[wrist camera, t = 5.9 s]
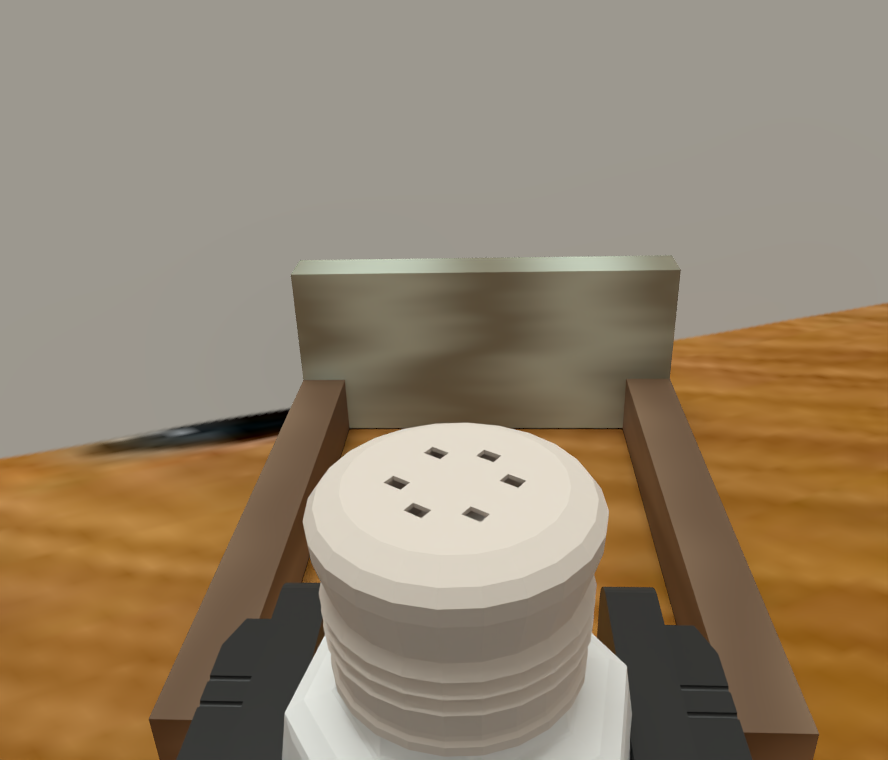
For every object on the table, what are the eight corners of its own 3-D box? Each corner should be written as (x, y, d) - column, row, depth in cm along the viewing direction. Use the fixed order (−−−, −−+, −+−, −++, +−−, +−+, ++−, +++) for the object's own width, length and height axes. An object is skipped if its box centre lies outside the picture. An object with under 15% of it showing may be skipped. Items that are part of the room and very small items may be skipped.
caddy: (167, 786, 17) (105, 559, 15) (317, 408, 32) (300, 260, 29) (801, 803, 17) (860, 566, 14) (657, 408, 31) (672, 255, 29)
